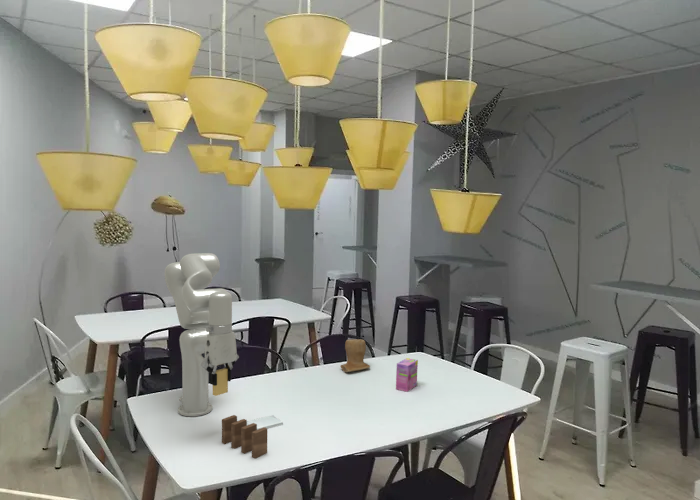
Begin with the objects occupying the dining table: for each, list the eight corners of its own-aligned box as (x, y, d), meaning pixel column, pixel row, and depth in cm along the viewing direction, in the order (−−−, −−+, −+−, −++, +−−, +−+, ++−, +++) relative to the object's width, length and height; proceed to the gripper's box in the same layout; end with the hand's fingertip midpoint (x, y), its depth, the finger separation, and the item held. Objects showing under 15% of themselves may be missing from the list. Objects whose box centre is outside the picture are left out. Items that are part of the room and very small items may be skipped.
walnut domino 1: (221, 443, 168) (221, 419, 168) (233, 438, 172) (234, 414, 172) (224, 444, 167) (224, 420, 167) (236, 439, 171) (237, 416, 171)
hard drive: (272, 414, 190) (241, 421, 183) (283, 421, 184) (251, 429, 176) (272, 418, 190) (241, 426, 183) (283, 426, 184) (251, 434, 177)
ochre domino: (227, 392, 173) (227, 368, 173) (215, 396, 169) (215, 372, 169) (224, 391, 174) (224, 368, 174) (212, 394, 170) (212, 371, 170)
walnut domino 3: (241, 452, 162) (241, 427, 162) (253, 446, 166) (253, 422, 165) (244, 453, 161) (244, 429, 161) (256, 448, 165) (256, 424, 164)
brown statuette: (358, 364, 261) (359, 335, 260) (373, 370, 251) (373, 340, 250) (334, 368, 252) (334, 338, 251) (348, 375, 242) (348, 344, 241)
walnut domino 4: (251, 457, 159) (251, 432, 158) (263, 451, 163) (264, 427, 162) (254, 458, 158) (255, 433, 157) (267, 453, 162) (267, 428, 161)
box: (407, 392, 220) (408, 365, 220) (395, 389, 223) (396, 363, 223) (417, 385, 229) (418, 359, 228) (405, 383, 232) (406, 357, 231)
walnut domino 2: (231, 447, 165) (231, 423, 165) (243, 442, 169) (243, 418, 169) (234, 449, 164) (234, 424, 164) (246, 443, 168) (246, 420, 168)
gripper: (205, 335, 161) (205, 391, 163) (247, 326, 175) (247, 379, 176) (191, 331, 166) (191, 386, 167) (233, 323, 179) (233, 374, 181)
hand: (220, 382), depth 172 cm, fingers closed on ochre domino, 4 cm apart
